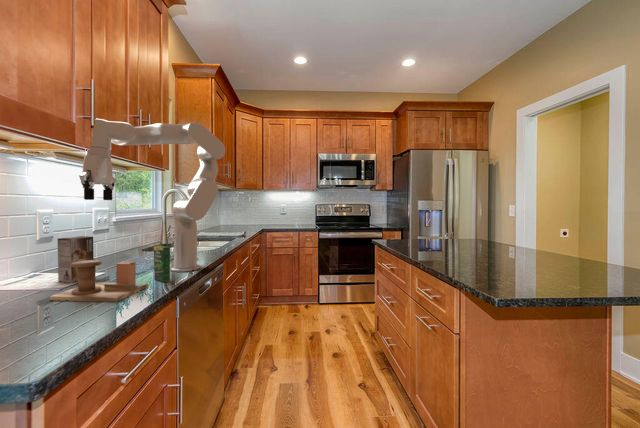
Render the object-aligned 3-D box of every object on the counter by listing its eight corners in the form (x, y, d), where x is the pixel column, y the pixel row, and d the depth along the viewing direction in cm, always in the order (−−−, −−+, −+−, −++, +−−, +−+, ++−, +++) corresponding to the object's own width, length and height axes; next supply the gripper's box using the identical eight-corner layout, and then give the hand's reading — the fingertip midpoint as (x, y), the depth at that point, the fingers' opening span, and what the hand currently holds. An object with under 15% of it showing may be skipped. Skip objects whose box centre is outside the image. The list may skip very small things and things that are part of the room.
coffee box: (80, 276, 124) (80, 235, 124) (94, 277, 123) (94, 236, 122) (57, 281, 115) (56, 238, 115) (71, 282, 114) (71, 238, 113)
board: (91, 285, 110) (91, 276, 110) (148, 286, 110) (148, 277, 110) (49, 300, 93) (49, 289, 93) (116, 301, 93) (116, 291, 93)
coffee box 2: (153, 279, 121) (153, 245, 121) (160, 278, 124) (160, 244, 123) (162, 282, 116) (162, 247, 116) (170, 281, 118) (170, 247, 118)
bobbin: (83, 288, 103) (83, 260, 102) (107, 288, 103) (107, 260, 102) (65, 294, 95) (64, 264, 95) (90, 295, 95) (89, 264, 95)
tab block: (123, 284, 108) (123, 261, 108) (135, 284, 108) (135, 261, 108) (116, 287, 104) (116, 263, 104) (128, 287, 104) (128, 263, 104)
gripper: (104, 157, 124) (104, 200, 125) (69, 149, 107) (70, 199, 107) (123, 157, 124) (123, 200, 125) (91, 149, 107) (91, 199, 107)
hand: (98, 199), depth 116 cm, fingers open, 9 cm apart
